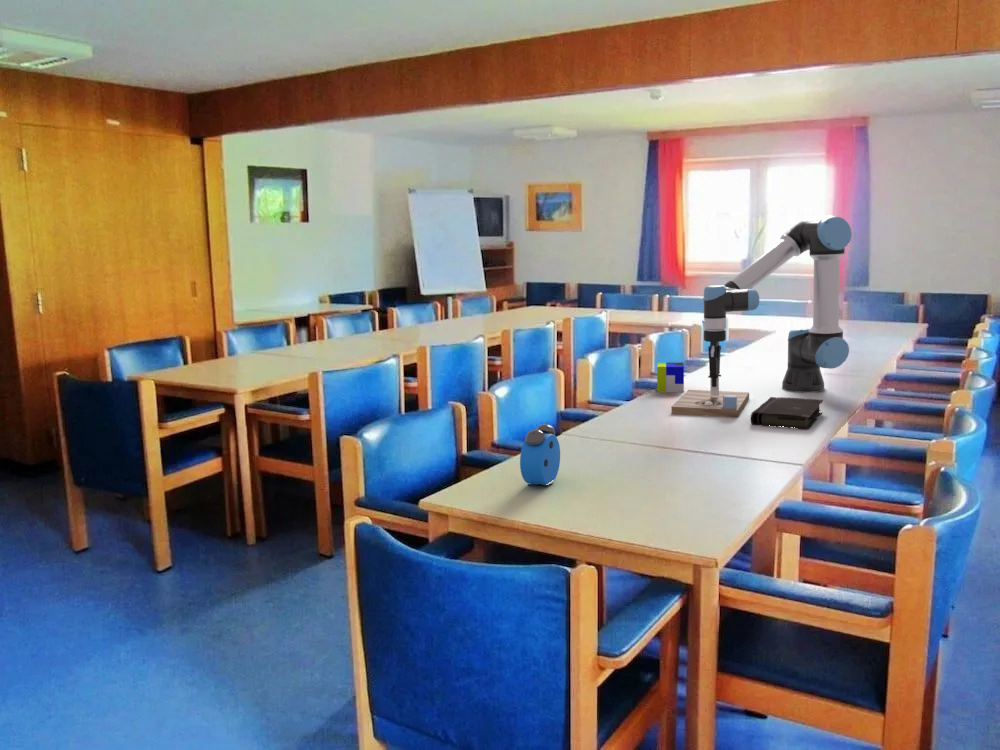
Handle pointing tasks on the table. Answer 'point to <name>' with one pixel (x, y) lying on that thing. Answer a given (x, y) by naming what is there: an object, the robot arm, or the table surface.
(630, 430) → the table surface
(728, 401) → the blue block
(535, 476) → the alarm clock
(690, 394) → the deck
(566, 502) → the table surface
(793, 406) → the diary
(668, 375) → the puzzle toy
